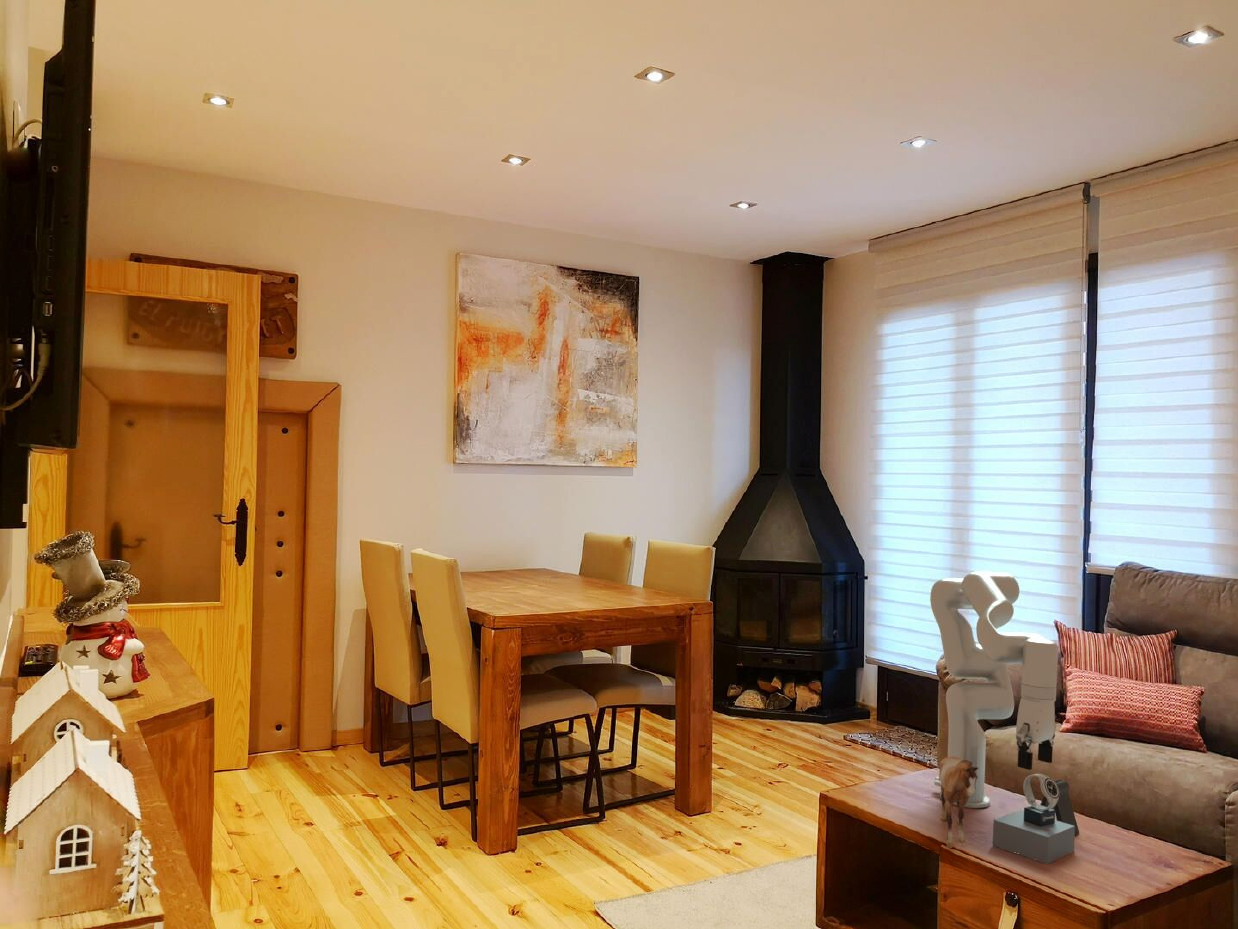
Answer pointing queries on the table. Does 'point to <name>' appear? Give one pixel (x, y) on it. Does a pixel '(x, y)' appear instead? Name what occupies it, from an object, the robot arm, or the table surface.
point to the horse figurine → (956, 790)
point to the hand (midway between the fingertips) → (1034, 765)
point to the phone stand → (1063, 806)
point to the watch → (1038, 812)
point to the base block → (1033, 837)
